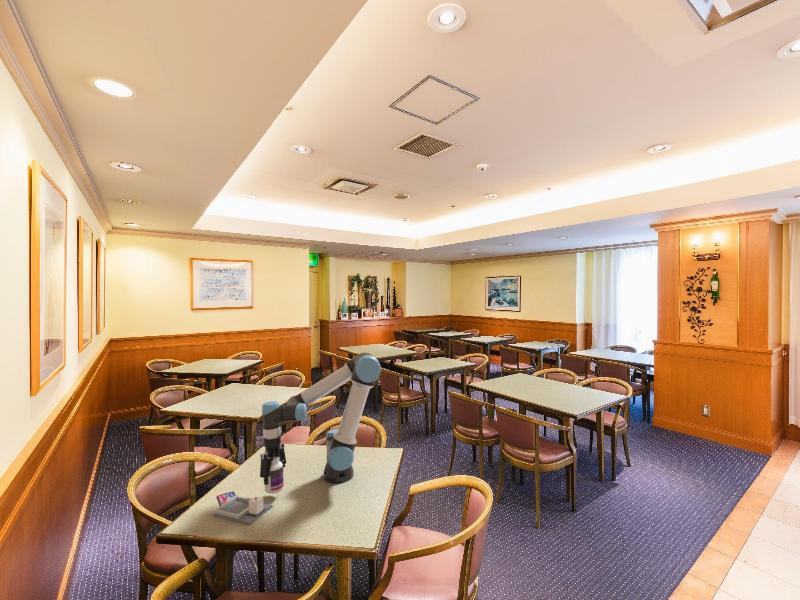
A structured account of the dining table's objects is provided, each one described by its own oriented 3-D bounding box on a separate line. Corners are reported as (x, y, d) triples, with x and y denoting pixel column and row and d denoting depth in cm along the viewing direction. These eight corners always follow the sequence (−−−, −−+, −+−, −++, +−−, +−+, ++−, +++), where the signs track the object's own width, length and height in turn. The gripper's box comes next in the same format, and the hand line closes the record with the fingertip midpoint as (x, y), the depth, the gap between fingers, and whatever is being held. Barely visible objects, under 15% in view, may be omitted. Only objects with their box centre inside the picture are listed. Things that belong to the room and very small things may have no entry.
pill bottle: (287, 486, 178) (286, 455, 178) (276, 495, 170) (274, 463, 170) (272, 484, 180) (271, 454, 180) (261, 493, 173) (259, 461, 173)
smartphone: (221, 510, 164) (215, 495, 177) (221, 511, 164) (215, 497, 177) (240, 504, 169) (233, 490, 181) (240, 506, 169) (233, 492, 181)
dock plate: (272, 507, 167) (272, 490, 167) (249, 525, 154) (249, 507, 154) (238, 499, 173) (237, 483, 173) (213, 516, 160) (212, 499, 160)
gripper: (280, 427, 186) (282, 474, 186) (249, 444, 167) (251, 496, 167) (292, 429, 183) (295, 476, 184) (263, 445, 164) (265, 498, 164)
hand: (274, 486), depth 175 cm, fingers closed on pill bottle, 8 cm apart
